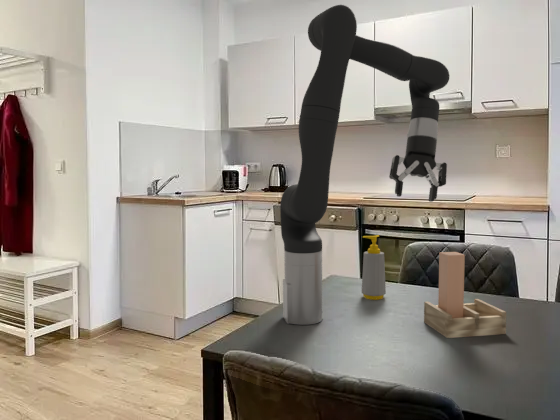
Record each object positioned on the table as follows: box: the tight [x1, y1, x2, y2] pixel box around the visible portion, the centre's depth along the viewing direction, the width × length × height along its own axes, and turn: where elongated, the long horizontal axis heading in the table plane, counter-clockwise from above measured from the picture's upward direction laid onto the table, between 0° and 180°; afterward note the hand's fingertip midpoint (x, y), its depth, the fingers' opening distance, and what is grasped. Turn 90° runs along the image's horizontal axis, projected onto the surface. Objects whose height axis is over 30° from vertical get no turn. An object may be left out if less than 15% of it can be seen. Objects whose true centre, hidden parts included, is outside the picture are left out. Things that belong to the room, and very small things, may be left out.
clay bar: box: [437, 251, 466, 318], centre depth 109 cm, size 4×4×16 cm
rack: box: [423, 298, 507, 339], centre depth 110 cm, size 14×11×5 cm
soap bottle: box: [361, 234, 387, 301], centre depth 136 cm, size 7×7×18 cm
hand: (415, 198), depth 123 cm, fingers open, 8 cm apart
